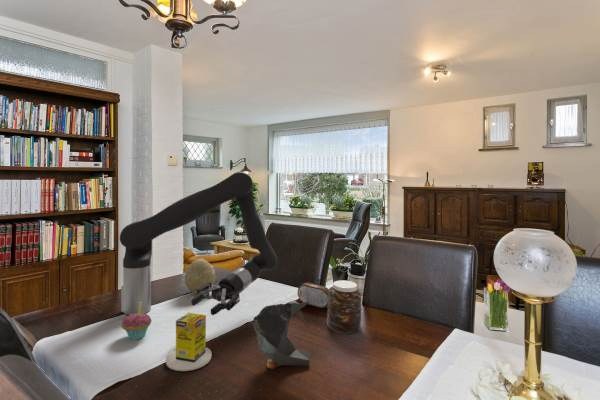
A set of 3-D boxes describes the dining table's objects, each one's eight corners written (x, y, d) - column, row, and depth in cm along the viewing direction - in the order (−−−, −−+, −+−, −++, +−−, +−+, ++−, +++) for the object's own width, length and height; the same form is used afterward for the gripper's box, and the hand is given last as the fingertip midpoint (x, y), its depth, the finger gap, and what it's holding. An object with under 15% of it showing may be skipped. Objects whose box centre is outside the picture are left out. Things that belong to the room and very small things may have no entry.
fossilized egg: (192, 287, 156) (192, 255, 155) (219, 289, 154) (219, 256, 153) (179, 297, 143) (179, 261, 142) (208, 299, 141) (208, 263, 140)
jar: (364, 323, 121) (366, 282, 120) (355, 337, 111) (357, 291, 110) (333, 317, 126) (334, 277, 125) (321, 329, 116) (322, 286, 115)
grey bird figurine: (257, 349, 102) (258, 289, 101) (309, 350, 101) (310, 291, 100) (249, 377, 88) (250, 308, 86) (309, 379, 87) (311, 310, 86)
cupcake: (157, 332, 111) (157, 296, 110) (137, 344, 103) (136, 305, 102) (136, 328, 113) (135, 293, 113) (114, 339, 105) (114, 301, 105)
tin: (332, 308, 135) (333, 287, 134) (328, 311, 132) (329, 289, 132) (300, 300, 143) (300, 280, 142) (296, 302, 140) (296, 282, 140)
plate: (156, 367, 91) (156, 362, 91) (184, 346, 102) (184, 342, 102) (194, 376, 87) (194, 371, 87) (219, 353, 99) (219, 349, 99)
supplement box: (194, 363, 91) (194, 323, 90) (175, 359, 93) (175, 320, 92) (206, 352, 97) (206, 314, 96) (187, 349, 98) (187, 312, 98)
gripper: (220, 267, 122) (184, 290, 109) (251, 279, 115) (217, 305, 102) (221, 285, 125) (187, 309, 112) (252, 298, 118) (219, 325, 105)
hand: (201, 307), depth 107 cm, fingers open, 8 cm apart
